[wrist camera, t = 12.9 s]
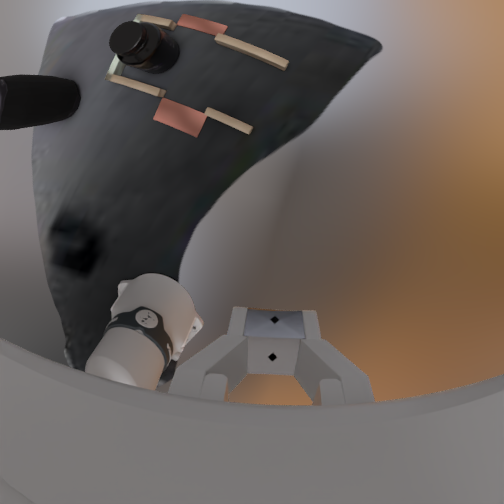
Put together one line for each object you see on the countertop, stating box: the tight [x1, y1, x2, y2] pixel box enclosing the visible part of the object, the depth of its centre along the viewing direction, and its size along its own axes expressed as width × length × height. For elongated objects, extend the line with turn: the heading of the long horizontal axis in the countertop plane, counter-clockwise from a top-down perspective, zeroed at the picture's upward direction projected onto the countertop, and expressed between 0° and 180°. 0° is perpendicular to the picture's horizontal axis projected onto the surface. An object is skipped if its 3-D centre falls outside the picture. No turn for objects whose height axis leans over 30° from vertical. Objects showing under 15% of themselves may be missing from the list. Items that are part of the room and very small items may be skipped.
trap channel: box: [105, 14, 289, 137], centre depth 34 cm, size 18×26×2 cm
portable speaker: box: [0, 75, 80, 130], centre depth 28 cm, size 9×9×20 cm
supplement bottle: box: [109, 21, 179, 74], centre depth 28 cm, size 7×7×12 cm
